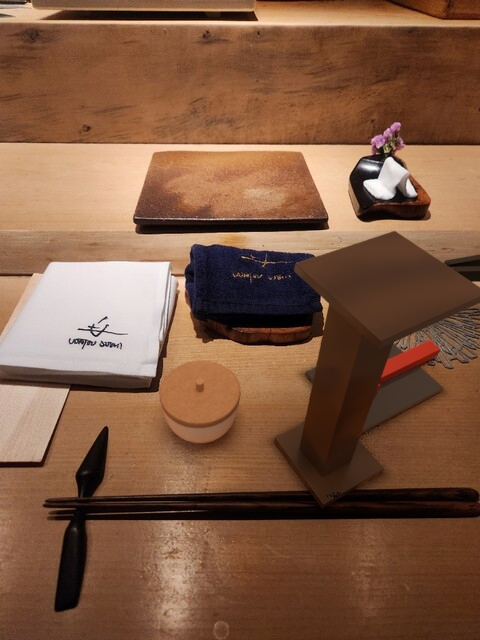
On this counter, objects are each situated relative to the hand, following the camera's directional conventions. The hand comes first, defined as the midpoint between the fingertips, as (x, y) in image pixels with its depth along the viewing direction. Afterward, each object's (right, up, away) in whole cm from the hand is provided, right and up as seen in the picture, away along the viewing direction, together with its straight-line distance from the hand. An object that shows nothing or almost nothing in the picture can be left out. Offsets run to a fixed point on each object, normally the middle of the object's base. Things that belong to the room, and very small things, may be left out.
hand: (464, 318), depth 72 cm
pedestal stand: (-22, -18, -9) cm, 30 cm away
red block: (-11, -8, +2) cm, 14 cm away
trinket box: (-41, -15, -6) cm, 44 cm away
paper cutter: (-14, -10, +1) cm, 17 cm away
